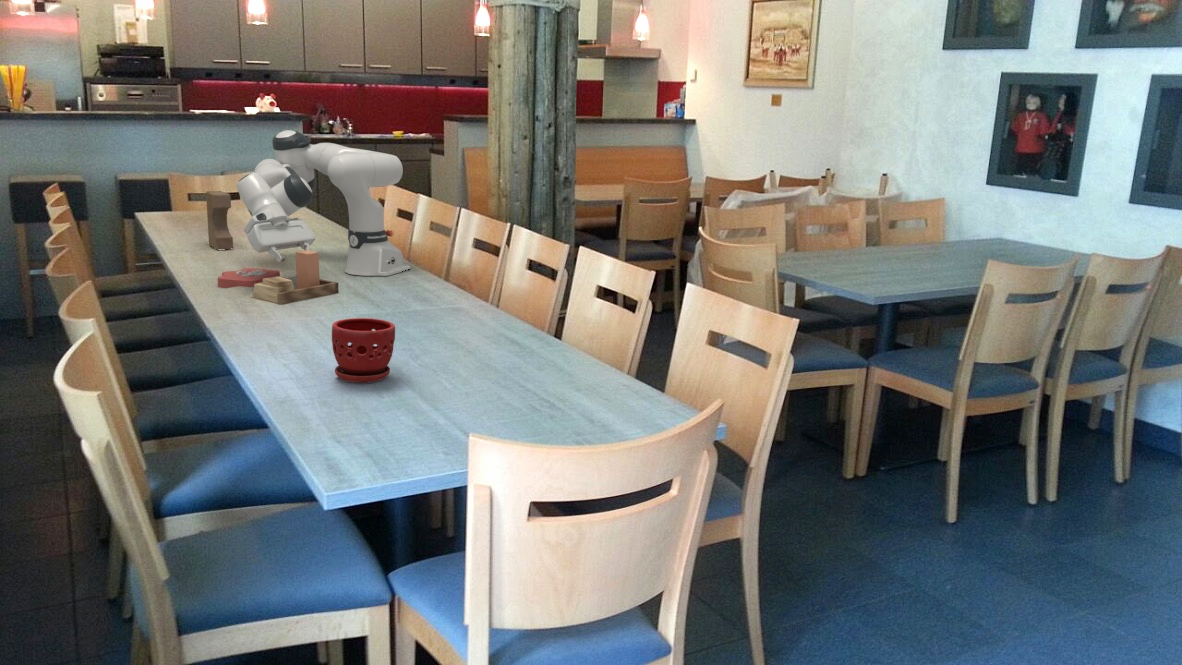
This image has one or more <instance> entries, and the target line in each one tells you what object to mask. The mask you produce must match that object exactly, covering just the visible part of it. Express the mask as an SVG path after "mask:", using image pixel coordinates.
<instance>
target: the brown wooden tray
mask: <svg viewBox="0 0 1182 665" xmlns="http://www.w3.org/2000/svg"><path fill="white" fill-rule="evenodd" d="M319 282H320V285H318V286H313V287H308V288H302V289H297V287H296V288H294V290H292V291H287V292H281V293H277V299H278V303H275V302H270V301H266V300H262V299H258V298H254V297H253V296H250V297H249V298H250V299H256V300H260V301H263V302H267V303H272V304H276V305H286V304H291V303H297V302H301V301H305V300H310V299H315V298H320V297H326V296H331V295H336V294H339V291H340V290H339V287H340V286H339V282H338V281H337V282H336V281H332V280H326V279H322V278H319Z"/></svg>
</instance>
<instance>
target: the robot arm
mask: <svg viewBox="0 0 1182 665" xmlns="http://www.w3.org/2000/svg"><path fill="white" fill-rule="evenodd" d="M271 143H272V149H273V151H274V155H275V158H274V159H273V158H266V159H265V158H264V159H263V160H261V161H260V162H259V163H257V165H256V167H255V168H254V171H253V172H251V173H248V174H246V175H244V176H243V177H242V178H240V179H239V180H238V181H237V183H236V189H237V191H238V193H239V197H241V200H242V202H243V204H244V206H245V207H246V209H247V211H248V212H249V214H250V216H251V218H250V219H249V220H248V222H247V223H246V225H245V226H244V228H243V232H244V233H245V234H246V235H247V236H246V237H247V240H248V242H249V244H250V246H251V247H252V249H253V250H254V251H255V252H256V253H265V252H268V254H269V256H272V257H273V258H275V260H276V261H277V262H278V263H283V262H284V261H285V260H286V258H285V256H284V254H283V253H280V252H278V251H280V250H288V249H293V248H301V250H303V251H305V250H308V251H310V246H312V244H314V242H315V241H316V234H315V233H314V231H313V230H312V229H311V228H310V227H309V225H308V224H307V223H306V222H305V221H304V220H303V219H300V218H298V217H293V218H289V216H291V215H293V214H294V213H295V212H297V211H299V210H300V209H302V208H304V207H306V206H308V205H310V204H311V203H312V200H313V191H314V189H315V188H316V187H317V178H316V176H315V170H317V171H318V172H320V173H322V174H323V175H326V176H328V179H329V180H330V182H331V184H333V185H334V186H335V187H336V188H338V189H339V191H340V192H341V194H343V196H344V198H345V201H346V204H347V209H348V210H347V211H348V221H349V222H348V225H349V227H348V230H347V240H348V244H349V245H348V248H347V249H348V251H347V261H346V265H345V270H344V272H345V273H346V274H349V275H353V276H365V277H366V276H370V277H371V276H373V277H375V276H378V277H388V276H389V277H390V276H393V275H395V274H399V273H403V272H406V271H409V270H408V269H410V270H411V269H412V268H411V266H410V265H408V264H405V263H404V256H403V252H402V251H401V250H400V249H399V248H398V247H397V246H395V245H394V244H393V243H392V242H390V241H389V237H393V236H394V231H393V230H389V229H387V230H385V214H384V213H385V212H384V211H385V209H384V207H383V204H382V203H381V202H380V201H378V200H377V199H374V198H372V195H371V192H370V188H385V187H389V186H393V185H395V184H398V183H399V182H400V180H401V179H402V178H403V173H404V172H403V171H404V169H403V164H402V162H401V160H400V158H399V157H398V156H396V155H394V154H390V153H385V152H379V151H376V150H375V151H373V150H367V149H362V148H353V147H349V146H345V145H341V144H337V143H332V142H318V143H316V144H313V143H312V144H311V138H310V137H308V136H305V135H304V134H303V133H301V132H299V131H298V130H293V129H290V130H288V129H286V130H283V131H280V132H278V133H276V134H275V135H274V136H273V137H272V141H271ZM314 169H315V170H314ZM405 270H406V271H405ZM402 271H403V272H402Z"/></svg>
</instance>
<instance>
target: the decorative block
mask: <svg viewBox="0 0 1182 665" xmlns="http://www.w3.org/2000/svg"><path fill="white" fill-rule="evenodd" d="M205 196H206V197H205V198H206V200H205V201H206V215H207V231H208V232H207V233H208V246H209V245H210V246H209V247H211V246H212V247H211V248H213V247H214V248H213V249H215V248H216V249H231V248H233V249H234V239H233V236H232V235H231V233H230V231H229V225H228V212H229V209H230V208H231V207H232V198H231V194H230V193H227V192H224V191H221V190H214V191H213V190H210V191H206V192H205ZM216 249H215V250H216Z"/></svg>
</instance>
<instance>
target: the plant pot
mask: <svg viewBox="0 0 1182 665" xmlns="http://www.w3.org/2000/svg"><path fill="white" fill-rule="evenodd" d="M395 340H396V326H395V324H394V323H393V322H390V321H387V320H383V319H378V318H367V317H365V318H364V317H360V318H359V317H357V318H345V319H340V320H336V321H335V322H333V323H332V326H331V344H332V351H333V355H334V358H335V361H336V363H337V366H336V367H335V369H334V372H335V375H336V376H337V377H338V378H339V379H341V380H342V381H345V382H348V383H350V382H352V383H356V384H358V383H359V384H365V383H375V382H378V381H381V380H384V379H385V378H386V377H388V375H389V374H390V372H391V368H390V367H389V366H388V365H389V364H390V361H391V360H392V359H391V358H392V356H393V353H394V344H395ZM349 344H350V345H349Z"/></svg>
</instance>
